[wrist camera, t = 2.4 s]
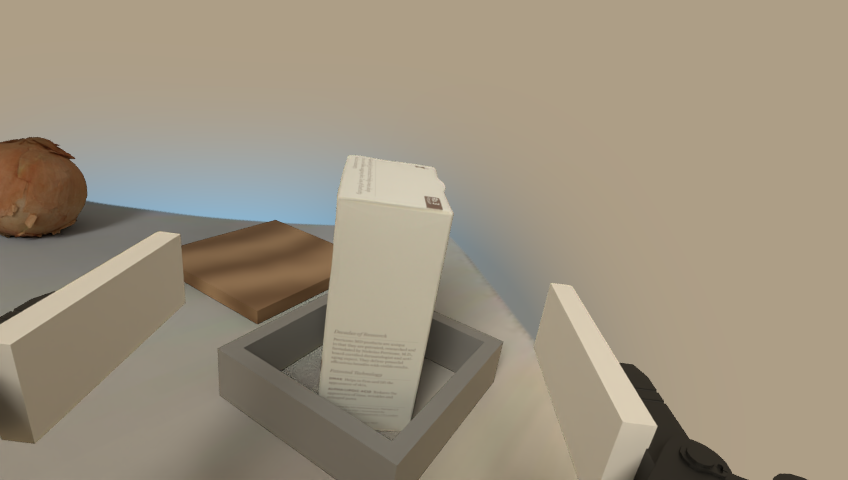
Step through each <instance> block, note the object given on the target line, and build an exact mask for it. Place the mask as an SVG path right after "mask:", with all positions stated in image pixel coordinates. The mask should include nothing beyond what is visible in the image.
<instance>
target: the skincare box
mask: <svg viewBox="0 0 848 480" xmlns="http://www.w3.org/2000/svg"><path fill="white" fill-rule="evenodd" d="M445 189H446V188H445V185H444V183H443V182H442V181H440V180H439V179H438V176H437V171H436V169H435V168H433V167H429V166H422V165H416V164H409V163H402V162H395V161H387V160H381V159H375V158H369V157H363V156H356V155H349V156H348V158H347V161H346V164H345V167H344V170H343V173H342V177H341V181H340V186H339V189H338V194H337V208H336V209H337V210H336V221H335V231H334V242H333V256H332V266H331V274H330V282H329V290H328V299H327V310H326V319H325V329H324V339H323V350H322V361H321V371H320V381H319V391H318V395H319V396H321V397H323V398H324V399H326V400H327V401H329V402H330V403H332V404H334V405H335V406H337V407H338V408H340V409H342V410H343V411H345V412H346V413H348V414H350V415H351V416H353V417H354V418H356V419H358V420H359V421H361V422H362V423H364V424H366V425H367V426H369V427H370V428H372V429H374V430H378V431H402V430H403V429H404V428H405V427H406V426H407V425H408V423H409V422H410V421H411V420H412V415H413V410H414V405H415V400H416V395H417V390H418V385H419V381H420V376H421V371H422V366H423V361H424V356H425V351H426V347H427V342H428V337H429V332H430V327H431V322H432V317H433V312H434V307H435V302H436V297H437V292H438V288H439V283H440V278H441V273H442V269H443V264H444V259H445V255H446V250H447V245H448V239H449V234H450V229H451V224H452V220H453V216H454V213H453V211H452V209H451V207H450V205H449V203H448V201H447V198H446V196H445V194H444V191H445Z"/></svg>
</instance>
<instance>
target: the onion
mask: <svg viewBox="0 0 848 480" xmlns="http://www.w3.org/2000/svg"><path fill="white" fill-rule="evenodd" d="M57 146H59V145H57V144H54V143H53V142H51V141H50V140H47V139H44V138H40V137H33V138H32V137H29V138H26V139H24V138H22V139H19V140H18V139H16V140H10V141H5V142H0V235H2V236H5V237H7V238H9V237H10V235H14V236H15V237H20V236H22V237H25V236H37V237H41V235H45V234H49V233H52V234H53V235H55V234H57V233H60V230H61V229H64V228H66V227H68V226H71V225H73V224H74V223H75V222H76V221H77V219H76V218H77V216H78V214H79V213H80V212H81V210H82V208H83V207H84V205H85V201H86V198H87V186H86V181H85V179H84V176H83V174H82V173H81V171H80V170H79V169H78V167H77V166H76V165H75V164H74V163H73V162H71V161H70V160H69V159H75V158H74V157H73V156H71V155H70V154H69V153H66V152H65V151H64V150H62V149H60V148H59V147H57Z"/></svg>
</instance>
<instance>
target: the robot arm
mask: <svg viewBox="0 0 848 480" xmlns="http://www.w3.org/2000/svg"><path fill="white" fill-rule="evenodd" d="M185 303H186V302H185V289H184V275H183V262H182V249H181V235H180V234H176V233H169V232H161V231H158V232H156V233H154V234H153V235H151V236H149V237H148V238H146V239H144V240H143V241H141V242H139V243H137V244H136V245H134V246H132V247H131V248H129V249H127V250H126V251H124V252H122V253H120V254H119V255H117V256H115V257H114V258H112V259H110V260H109V261H107V262H105V263H104V264H102V265H100V266H98V267H97V268H95V269H93V270H92V271H90V272H88V273H87V274H85V275H83V276H81V277H80V278H78V279H76V280H75V281H73V282H71V283H70V284H68V285H66V286H64V287H63V288H61V289H59V290H58V291H54V292H51V293H48V294H45V295H42V296H39V297H36V298H33V299H31V300H29V301H27V302H26V303H24V304H22V305H20V306H19V307H17V308H15V309H14V311H13V312H11V311H10V312H8V313H6V314H5V315H3V316H1V317H0V436H1V439H2V440H8V441H16V442H24V443H33V444H35V443H36V442H37V441H38V440H39V439H41V438H42V437H43V436H44V435H45V434H46V433H47V432H48V431H49V430H50V429H51V428H52V427H53V426H54V425H55V424H57V423H58V422H59V421H60V420H61V419H62V418H63V417H64V416H65V415H66V414H67V413H68V412H69V411H70V410H72V409H73V408H74V407H75V406H76V405H77V404H78V403H79V402H80V401H81V400H82V399H83V398H84V397H85V396H86V395H88V394H89V393H90V392H91V391H92V390H93V389H94V388H95V387H96V386H97V385H98V384H99V383H100V382H101V381H103V380H104V379H105V378H106V377H107V376H108V375H109V374H110V373H111V372H112V371H113V370H114V369H115V368H116V367H117V366H119V365H120V364H121V363H122V362H123V361H124V360H125V359H126V358H127V357H128V356H129V355H130V354H131V353H132V352H133V351H135V350H136V349H137V348H138V347H139V346H140V345H141V344H142V343H143V342H144V341H145V340H146V339H147V338H148V337H150V336H151V335H152V334H153V333H154V332H155V331H156V330H157V329H158V328H159V327H160V326H161V325H162V324H163V323H164V322H166V321H167V320H168V319H169V318H170V317H171V316H172V315H173V314H174V313H175V312H176V311H177V310H178V309H179V308H181V307H182V306H183V305H184V304H185ZM534 350H535V353H536V356H537V359H538V362H539V365H540V368H541V371H542V374H543V377H544V380H545V383H546V386H547V389H548V392H549V395H550V397H551V400H552V403H553V406H554V409H555V412H556V415H557V418H558V421H559V424H560V427H561V430H562V433H563V436H564V439H565V442H566V445H567V448H568V451H569V454H570V457H571V459H572V462H573V465H574V468H575V471H576V474H577V477H578V480H747V479H744V478H741V477H739V476H736V475H734V474H732V472H731V470H730V469H729V467H728V465H727V463H726V462H725V461H724V460H723V459H722V458H721V457H720V456H719V455H718V454H716V453H715V452H714V451H712V450H711V449H709V448H708V447H706V446H705V445H703V444H701V443H698V442H696V441H694V440H690V439H689V438H688V436H687V435H686V433H685V432H684V430H683V429H682V427H681V426H680V424H679V423H678V421H677V420H676V418H675V417H674V415H673V414H672V412H671V411H670V409H669V408H668V406H667V405H666V404H664V401H663V400H662V398H661V396H660V395H659V393H657V392H656V389H655V387H654V386H653V384H652V383H651V381H650V380H649V378H648V377H647V376H646V375H645V374H644V373H642V372H641V371H640V370H639V369H638V368H636V367H635V366H634V365H632V364H625V363H619V362H618V361H617V359H616V357H615V356H614V354H613V352H612V351H611V349H610V347H609V346H608V344H607V343H606V341H605V339H604V338H603V336H602V334H601V333H600V331H599V329H598V328H597V326H596V325H595V323H594V321H593V320H592V318H591V316H590V315H589V313H588V311H587V310H586V308H585V306H584V305H583V303H582V301H581V300H580V299H579V297H578V295H577V293H576V292H575V290H574V288H573V287H572V286H570V285H563V284H554V283H551V284H550V288H549V291H548V295H547V299H546V303H545V306H544V310H543V314H542V318H541V322H540V325H539V329H538V333H537V337H536V341H535V344H534ZM773 480H807V479H805V478H802V477H799V476H795V475H792V474H779V475H777V476H775V477H774V478H773Z"/></svg>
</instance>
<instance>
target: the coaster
mask: <svg viewBox="0 0 848 480" xmlns="http://www.w3.org/2000/svg"><path fill="white" fill-rule="evenodd" d="M181 249H182V262H183V275H184V282H185V283H187V284H189V285H191V286H192V287H194V288H196V289H198V290H199V291H201V292H203V293H204V294H206V295H208V296H210V297H211V298H213V299H215V300H217V301H218V302H220V303H222V304H223V305H225V306H227V307H229V308H230V309H232V310H234V311H236V312H237V313H239V314H241V315H243V316H244V317H246V318H248V319H249V320H251V321H253V322H255V323H256V324H259V323H261V322H263V321H265V320H267V319H269V318H271V317H273V316H275V315H277V314H279V313H281V312H283V311H285V310H287V309H289V308H291V307H293V306H295V305H297V304H299V303H301V302H303V301H305V300H307V299H309V298H311V297H313V296H315V295H317V294H320V293H322V292H324V291H326V290H328V289H329V282H330V274H331V266H332V256H333V244H332V243H330V242H328V241H325V240H323V239H320V238H318V237H316V236H313V235H311V234H308V233H306V232H303V231H301V230H299V229H296V228H294V227H291V226H289V225H287V224H284V223H282V222H279V221H277V220H274V221H270V222H266V223H262V224H259V225H255V226H251V227H248V228H244V229H240V230H237V231H233V232H229V233H226V234H222V235H218V236H215V237H211V238H207V239H204V240H200V241H196V242H193V243H189V244H185V245H182V246H181Z"/></svg>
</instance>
